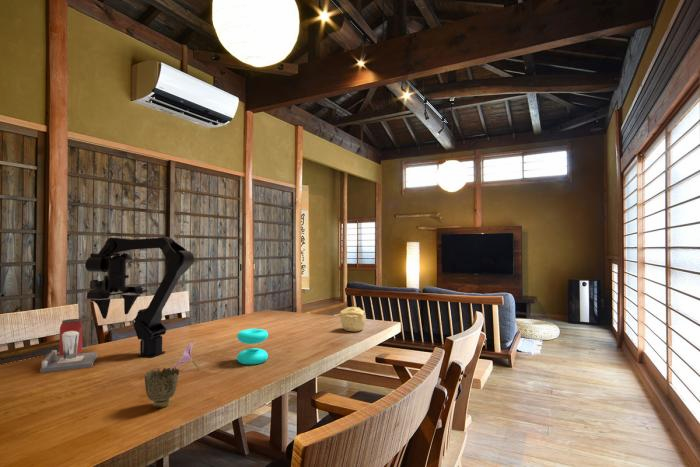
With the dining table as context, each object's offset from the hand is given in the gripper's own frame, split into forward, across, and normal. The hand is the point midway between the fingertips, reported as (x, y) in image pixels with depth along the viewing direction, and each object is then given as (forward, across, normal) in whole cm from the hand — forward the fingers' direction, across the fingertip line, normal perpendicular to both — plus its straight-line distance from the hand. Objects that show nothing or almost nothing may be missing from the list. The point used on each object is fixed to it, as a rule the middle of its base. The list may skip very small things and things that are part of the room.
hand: (115, 316), depth 140 cm
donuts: (+13, -5, +52) cm, 54 cm away
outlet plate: (+13, +14, -3) cm, 19 cm away
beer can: (+13, +6, -13) cm, 20 cm away
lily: (+13, +10, +37) cm, 41 cm away
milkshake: (+12, +14, -3) cm, 19 cm away
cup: (+13, +34, +50) cm, 62 cm away
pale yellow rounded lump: (+13, -62, +71) cm, 95 cm away
